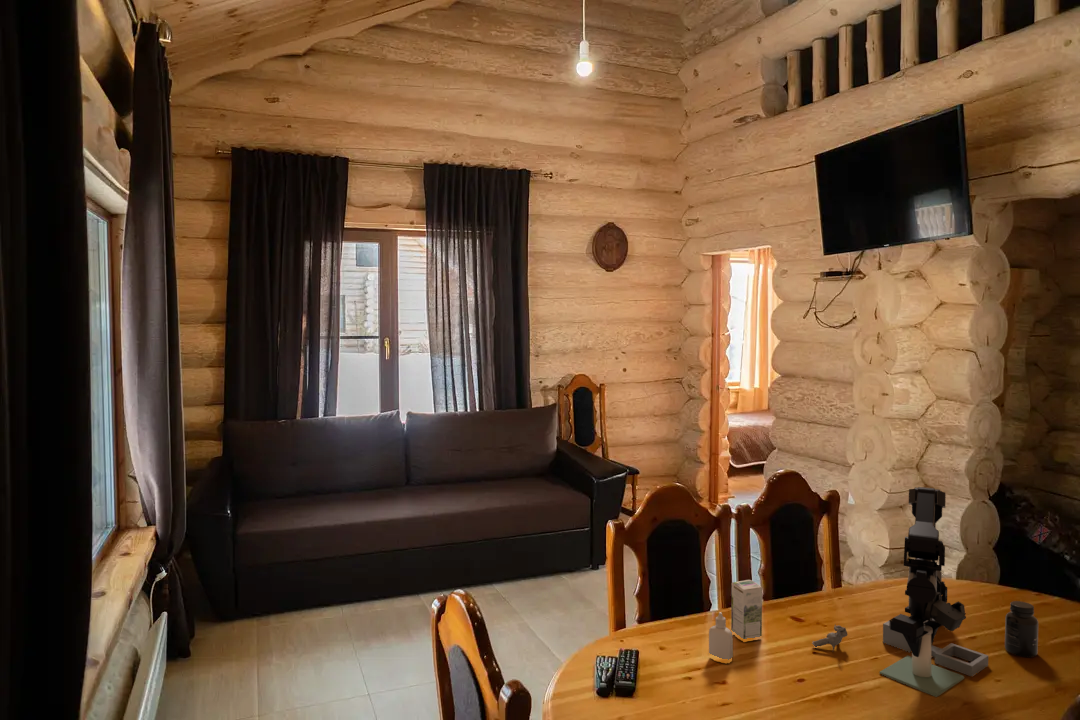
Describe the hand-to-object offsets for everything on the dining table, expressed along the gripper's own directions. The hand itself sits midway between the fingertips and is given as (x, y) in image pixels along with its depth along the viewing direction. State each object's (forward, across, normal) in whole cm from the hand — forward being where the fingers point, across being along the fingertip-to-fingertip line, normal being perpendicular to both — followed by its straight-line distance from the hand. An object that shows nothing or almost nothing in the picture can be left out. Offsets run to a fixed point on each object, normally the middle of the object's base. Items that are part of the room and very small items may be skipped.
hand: (921, 653), depth 169 cm
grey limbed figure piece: (+6, -4, +20) cm, 21 cm away
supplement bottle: (+6, +31, -9) cm, 33 cm away
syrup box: (+6, -15, +38) cm, 41 cm away
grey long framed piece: (+6, +13, +4) cm, 15 cm away
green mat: (+6, 0, 0) cm, 6 cm away
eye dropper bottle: (+6, -30, +34) cm, 46 cm away
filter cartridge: (+5, 0, 0) cm, 5 cm away
